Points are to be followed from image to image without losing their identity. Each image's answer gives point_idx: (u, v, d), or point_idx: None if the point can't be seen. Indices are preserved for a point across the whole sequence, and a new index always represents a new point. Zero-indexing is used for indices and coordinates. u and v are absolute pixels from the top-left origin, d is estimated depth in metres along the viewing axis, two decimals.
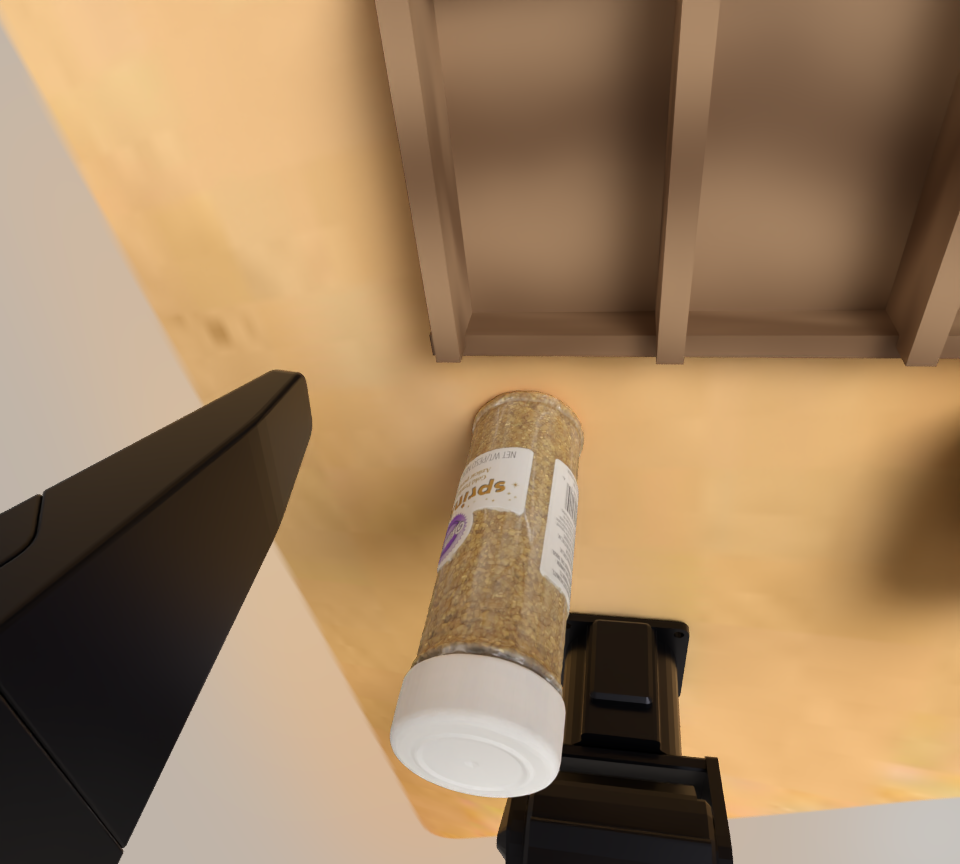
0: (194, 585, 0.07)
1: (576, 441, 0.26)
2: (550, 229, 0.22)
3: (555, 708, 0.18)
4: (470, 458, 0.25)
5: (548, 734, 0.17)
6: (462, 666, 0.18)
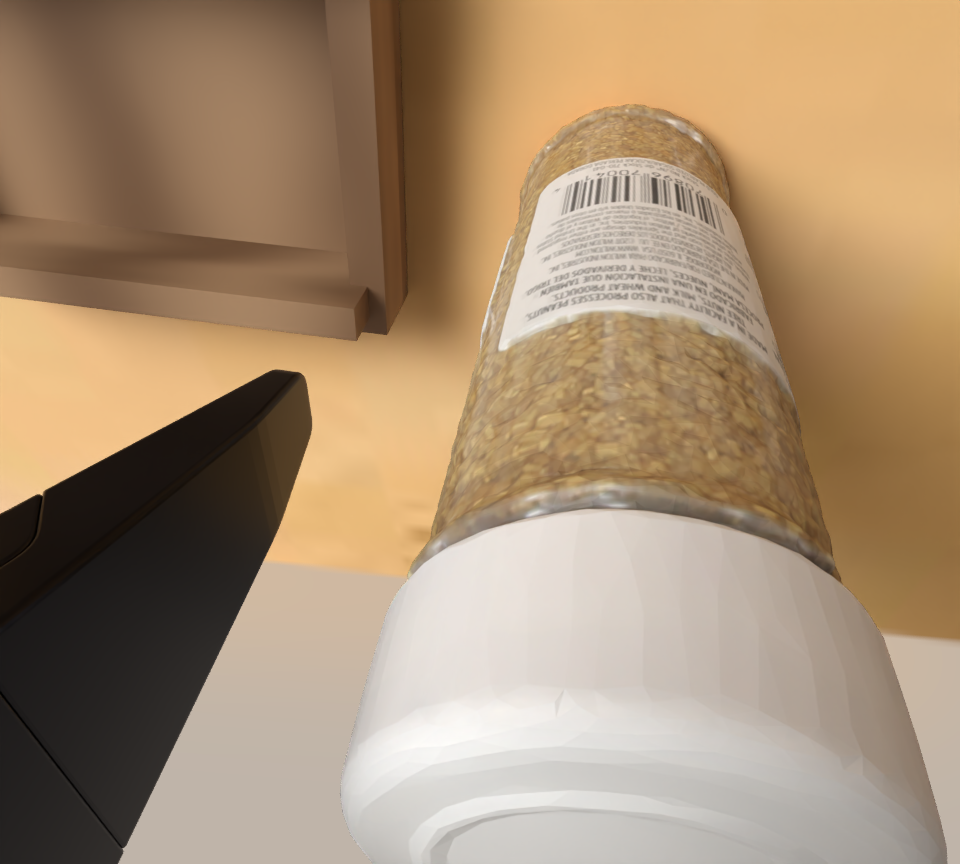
0: (194, 585, 0.07)
1: (603, 128, 0.13)
2: (229, 119, 0.15)
3: (545, 563, 0.05)
4: None
5: (498, 666, 0.04)
6: None
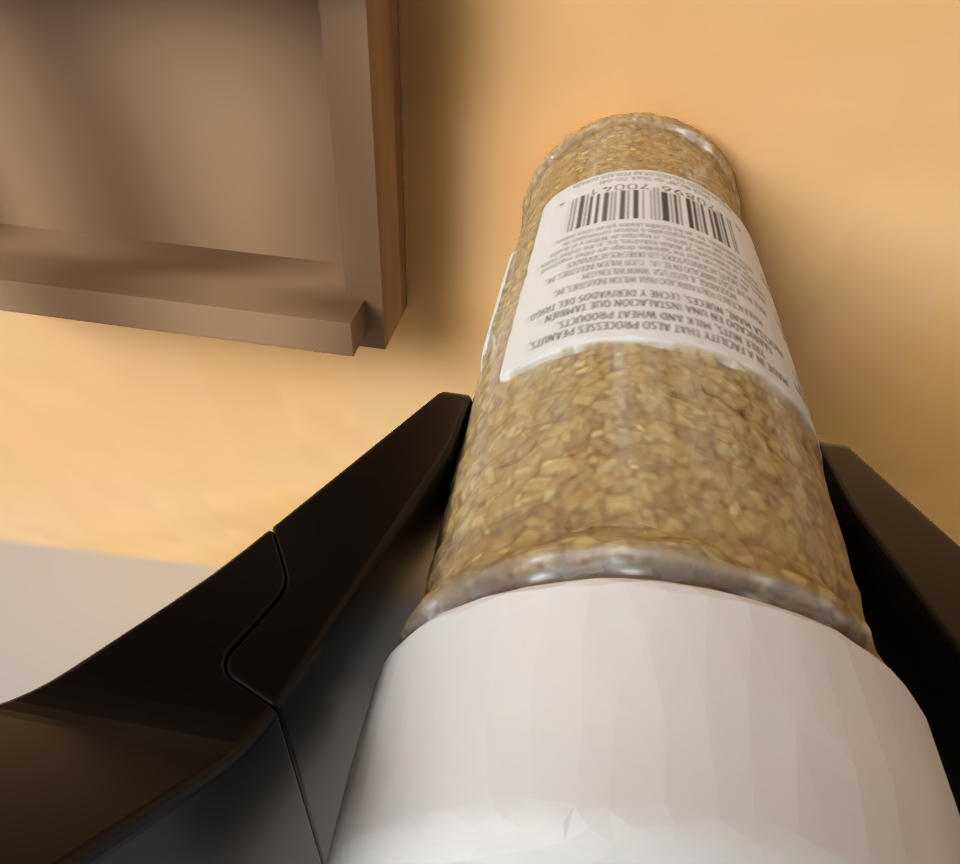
0: (399, 619, 0.07)
1: (609, 138, 0.13)
2: (222, 126, 0.15)
3: (551, 644, 0.04)
4: None
5: (499, 772, 0.04)
6: None
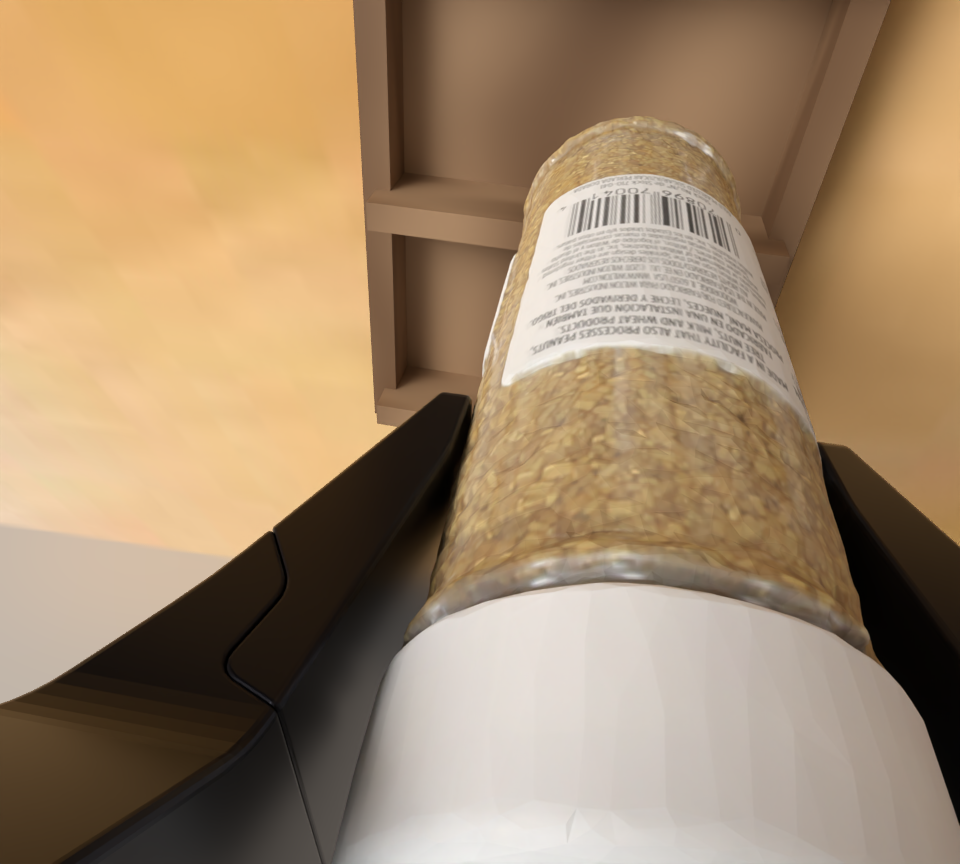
0: (399, 620, 0.07)
1: (610, 141, 0.13)
2: None
3: (554, 648, 0.04)
4: None
5: (502, 775, 0.04)
6: None
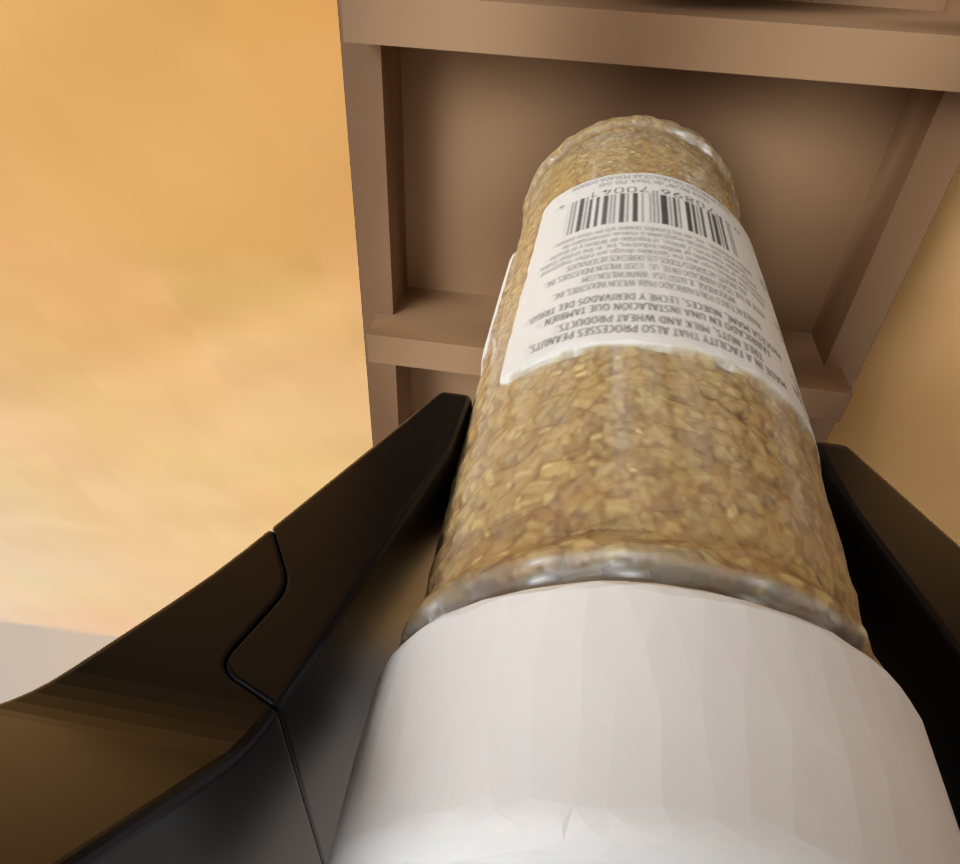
0: (399, 619, 0.07)
1: (609, 140, 0.13)
2: None
3: (551, 646, 0.04)
4: None
5: (497, 774, 0.04)
6: None
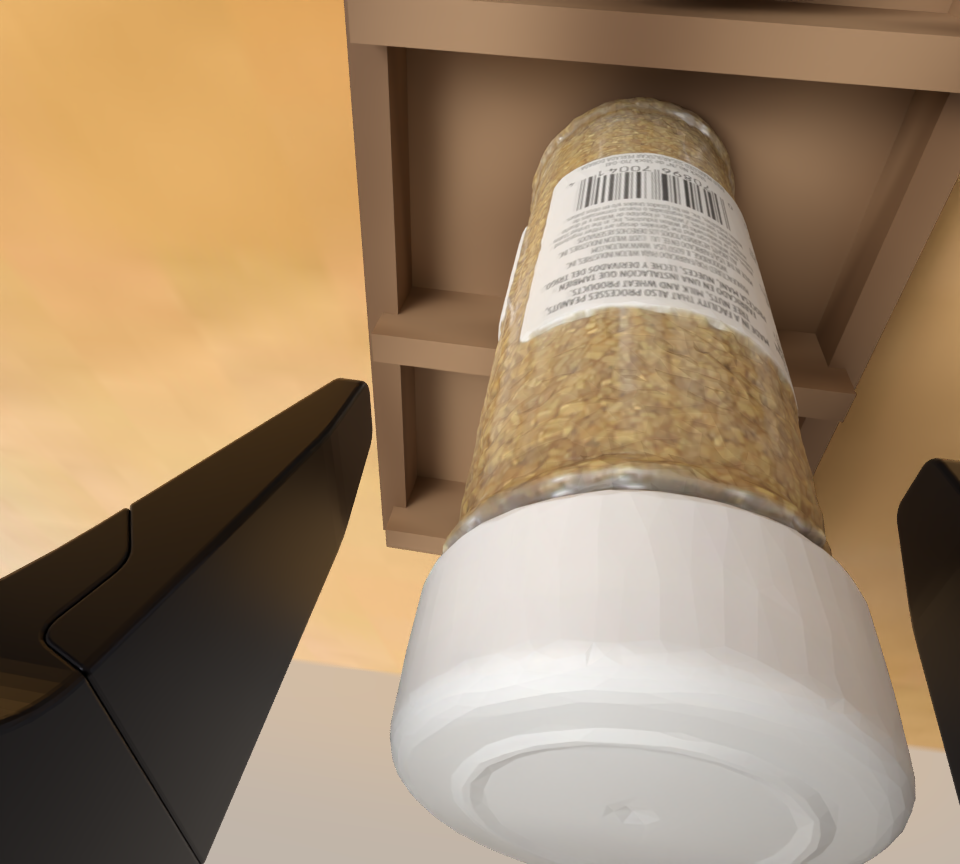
0: (272, 598, 0.07)
1: (614, 121, 0.14)
2: None
3: (573, 537, 0.06)
4: None
5: (536, 624, 0.05)
6: None
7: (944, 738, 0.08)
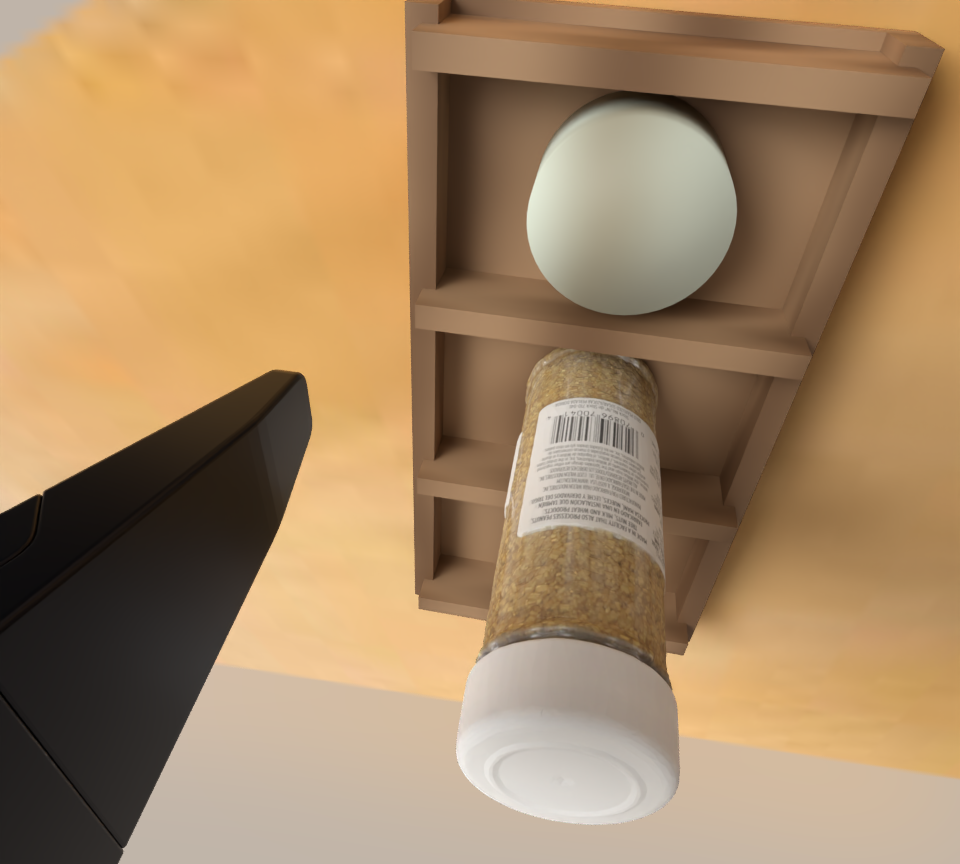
0: (194, 585, 0.07)
1: (578, 362, 0.22)
2: None
3: (538, 660, 0.14)
4: None
5: (521, 699, 0.13)
6: None
7: None
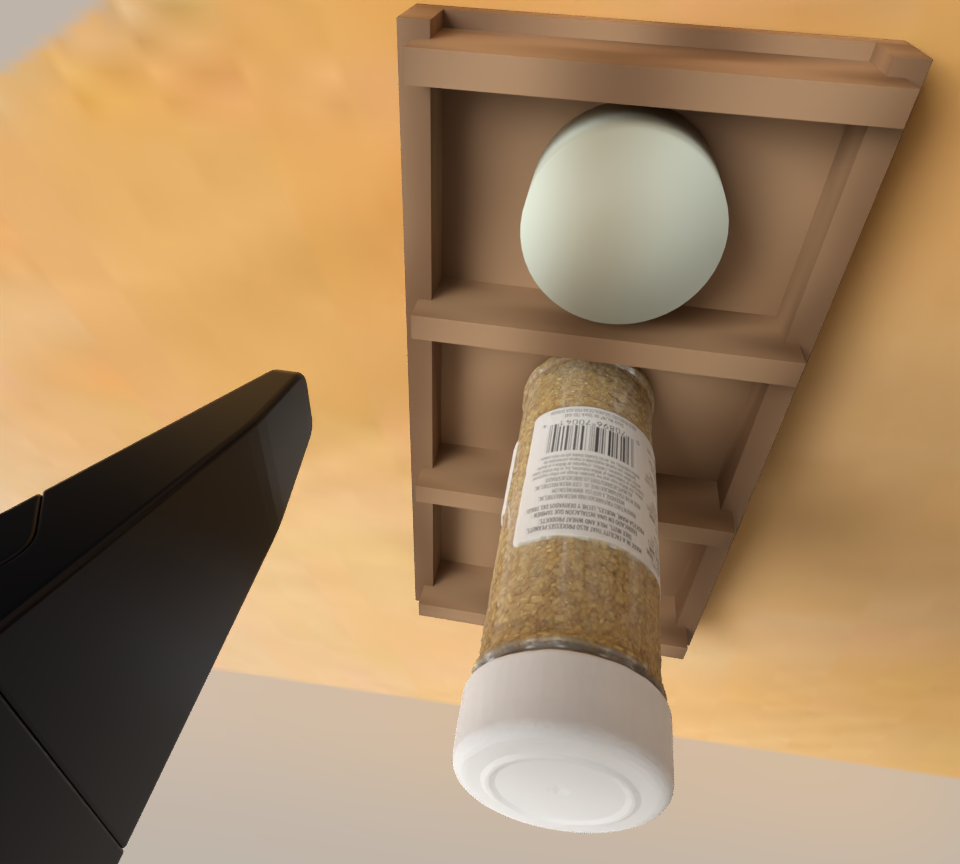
0: (194, 585, 0.07)
1: (574, 370, 0.22)
2: None
3: (533, 672, 0.14)
4: None
5: (516, 711, 0.13)
6: None
7: None
